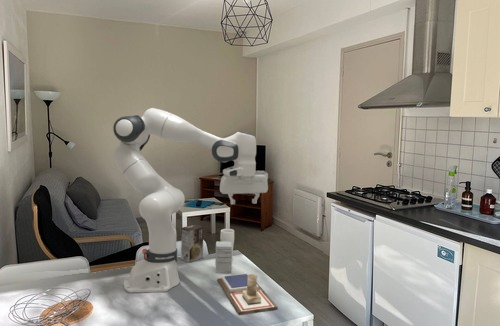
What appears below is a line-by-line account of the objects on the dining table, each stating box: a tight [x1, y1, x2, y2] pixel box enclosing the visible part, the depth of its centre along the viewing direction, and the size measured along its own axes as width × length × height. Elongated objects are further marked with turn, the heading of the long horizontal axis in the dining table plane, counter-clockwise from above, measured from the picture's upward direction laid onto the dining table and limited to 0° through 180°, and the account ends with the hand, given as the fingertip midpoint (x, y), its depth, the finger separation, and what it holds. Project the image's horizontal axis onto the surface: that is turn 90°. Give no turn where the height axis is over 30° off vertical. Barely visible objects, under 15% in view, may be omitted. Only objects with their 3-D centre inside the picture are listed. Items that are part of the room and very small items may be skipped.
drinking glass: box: [219, 228, 235, 255], centre depth 188 cm, size 7×7×15 cm
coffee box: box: [180, 223, 204, 263], centre depth 188 cm, size 9×6×16 cm
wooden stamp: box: [242, 273, 261, 305], centre depth 145 cm, size 5×7×9 cm
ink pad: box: [220, 273, 260, 292], centre depth 159 cm, size 12×13×2 cm
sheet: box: [231, 290, 274, 311], centre depth 145 cm, size 13×14×1 cm
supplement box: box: [214, 241, 233, 274], centre depth 175 cm, size 7×7×13 cm
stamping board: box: [216, 277, 279, 316], centre depth 152 cm, size 15×30×1 cm, turn 19°
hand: (243, 203), depth 160 cm, fingers open, 8 cm apart
